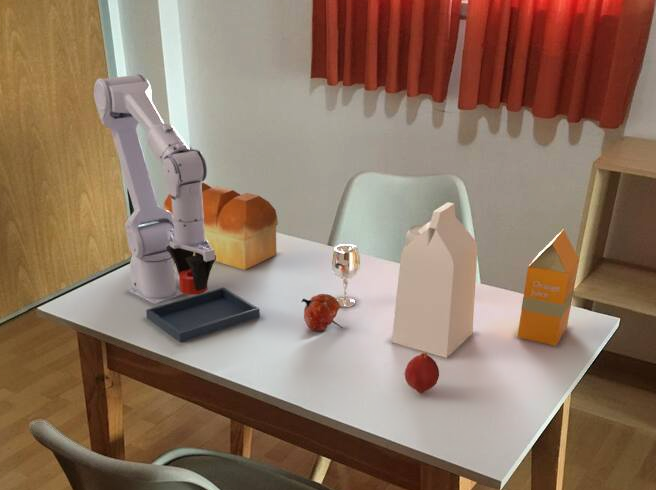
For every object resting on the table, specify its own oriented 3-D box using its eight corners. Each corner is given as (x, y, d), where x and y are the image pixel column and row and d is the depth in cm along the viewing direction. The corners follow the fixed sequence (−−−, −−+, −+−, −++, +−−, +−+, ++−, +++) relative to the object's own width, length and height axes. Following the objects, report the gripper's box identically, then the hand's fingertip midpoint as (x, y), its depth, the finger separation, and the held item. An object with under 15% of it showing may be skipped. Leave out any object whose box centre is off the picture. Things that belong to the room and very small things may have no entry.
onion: (400, 384, 144) (403, 343, 140) (433, 383, 145) (437, 342, 141) (406, 401, 139) (410, 360, 135) (440, 400, 140) (444, 359, 136)
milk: (446, 357, 153) (460, 222, 139) (391, 342, 158) (399, 210, 144) (472, 333, 161) (487, 203, 148) (419, 319, 167) (429, 193, 153)
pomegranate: (335, 329, 168) (296, 300, 165) (357, 306, 163) (317, 276, 161) (328, 349, 162) (288, 319, 159) (351, 326, 157) (310, 295, 155)
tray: (146, 319, 166) (145, 309, 165) (224, 296, 176) (223, 287, 174) (180, 344, 157) (179, 333, 156) (259, 318, 167) (259, 308, 165)
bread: (278, 254, 196) (277, 193, 189) (245, 270, 188) (243, 207, 180) (200, 232, 209) (196, 174, 201) (165, 247, 200) (160, 187, 192)
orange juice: (567, 327, 164) (585, 231, 153) (556, 346, 157) (574, 246, 146) (528, 319, 167) (543, 224, 156) (516, 337, 160) (530, 239, 150)
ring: (175, 288, 162) (173, 272, 160) (198, 281, 165) (197, 266, 163) (188, 297, 159) (187, 281, 157) (212, 290, 161) (211, 275, 160)
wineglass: (327, 305, 172) (327, 251, 166) (336, 295, 176) (337, 241, 170) (353, 310, 170) (354, 255, 164) (362, 299, 175) (364, 245, 168)
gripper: (150, 211, 157) (157, 277, 164) (189, 232, 147) (194, 301, 154) (183, 204, 161) (188, 269, 168) (222, 224, 151) (226, 292, 158)
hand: (193, 284), depth 161 cm, fingers closed on ring, 5 cm apart
